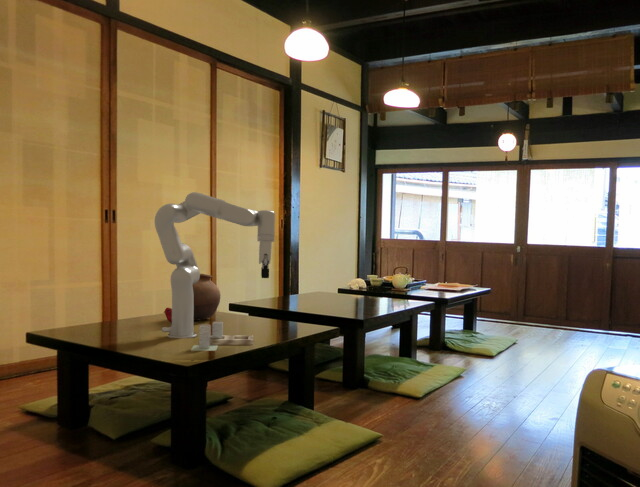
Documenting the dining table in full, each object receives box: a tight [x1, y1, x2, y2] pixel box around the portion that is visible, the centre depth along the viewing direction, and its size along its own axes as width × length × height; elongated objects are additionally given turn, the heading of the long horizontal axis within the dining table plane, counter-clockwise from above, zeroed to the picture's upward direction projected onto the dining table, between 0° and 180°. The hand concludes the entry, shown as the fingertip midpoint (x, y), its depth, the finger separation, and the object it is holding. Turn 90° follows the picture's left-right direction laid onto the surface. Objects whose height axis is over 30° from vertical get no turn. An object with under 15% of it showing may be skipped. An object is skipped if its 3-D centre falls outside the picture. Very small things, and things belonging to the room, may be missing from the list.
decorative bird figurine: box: [163, 307, 172, 324], centre depth 269 cm, size 3×18×10 cm, turn 139°
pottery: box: [192, 273, 221, 321], centre depth 289 cm, size 23×23×25 cm
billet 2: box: [211, 321, 224, 339], centre depth 230 cm, size 4×4×9 cm
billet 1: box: [198, 324, 212, 349], centre depth 219 cm, size 4×4×9 cm
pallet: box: [210, 334, 254, 346], centre depth 231 cm, size 20×10×2 cm, turn 95°
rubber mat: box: [190, 344, 219, 352], centre depth 219 cm, size 10×10×1 cm
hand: (264, 277), depth 240 cm, fingers open, 9 cm apart
